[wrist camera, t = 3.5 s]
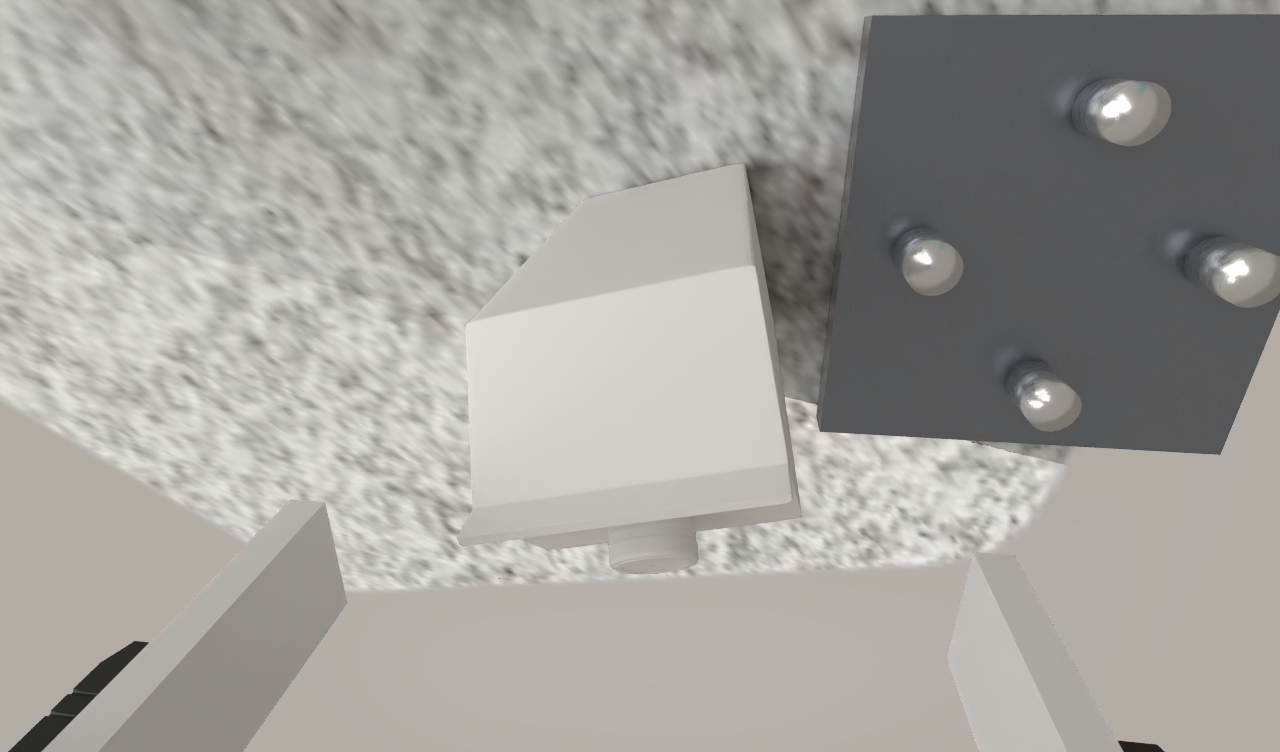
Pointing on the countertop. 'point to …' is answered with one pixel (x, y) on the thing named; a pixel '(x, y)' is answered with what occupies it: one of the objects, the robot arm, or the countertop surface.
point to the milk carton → (632, 381)
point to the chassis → (1057, 229)
